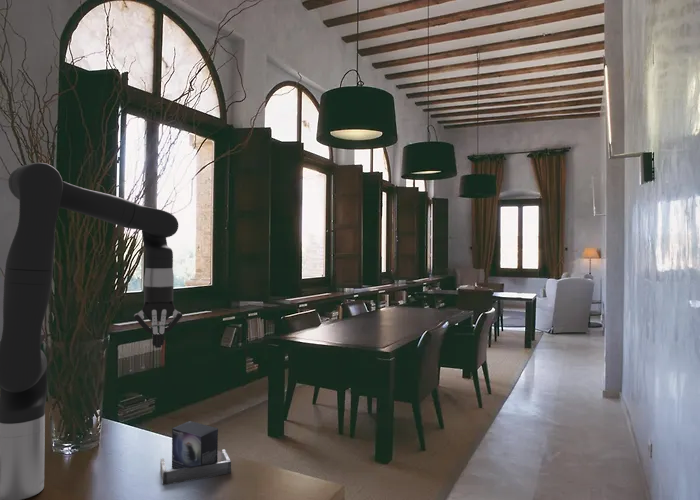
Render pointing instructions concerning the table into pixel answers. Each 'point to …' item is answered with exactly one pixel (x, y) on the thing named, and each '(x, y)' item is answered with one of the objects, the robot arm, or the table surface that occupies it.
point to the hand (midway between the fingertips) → (157, 347)
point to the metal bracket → (196, 471)
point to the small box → (194, 445)
